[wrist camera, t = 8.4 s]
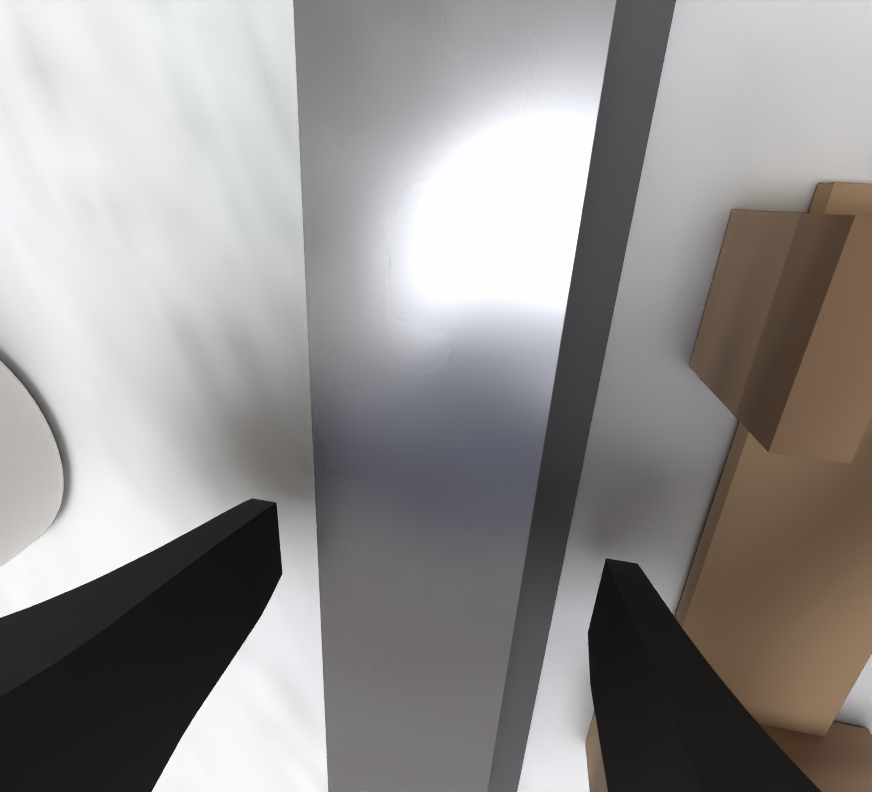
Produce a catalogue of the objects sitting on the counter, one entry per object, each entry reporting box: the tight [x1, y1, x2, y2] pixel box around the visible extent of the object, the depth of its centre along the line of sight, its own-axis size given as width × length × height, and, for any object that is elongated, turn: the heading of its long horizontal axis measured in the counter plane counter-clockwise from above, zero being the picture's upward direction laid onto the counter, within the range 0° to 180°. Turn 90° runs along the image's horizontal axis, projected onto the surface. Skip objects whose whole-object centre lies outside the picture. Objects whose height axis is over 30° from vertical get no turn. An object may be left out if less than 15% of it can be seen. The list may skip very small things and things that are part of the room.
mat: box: [487, 0, 676, 792], centre depth 12 cm, size 6×22×1 cm, turn 177°
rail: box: [293, 0, 616, 792], centre depth 10 cm, size 4×20×4 cm, turn 177°
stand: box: [586, 182, 872, 792], centre depth 9 cm, size 6×16×4 cm, turn 177°
